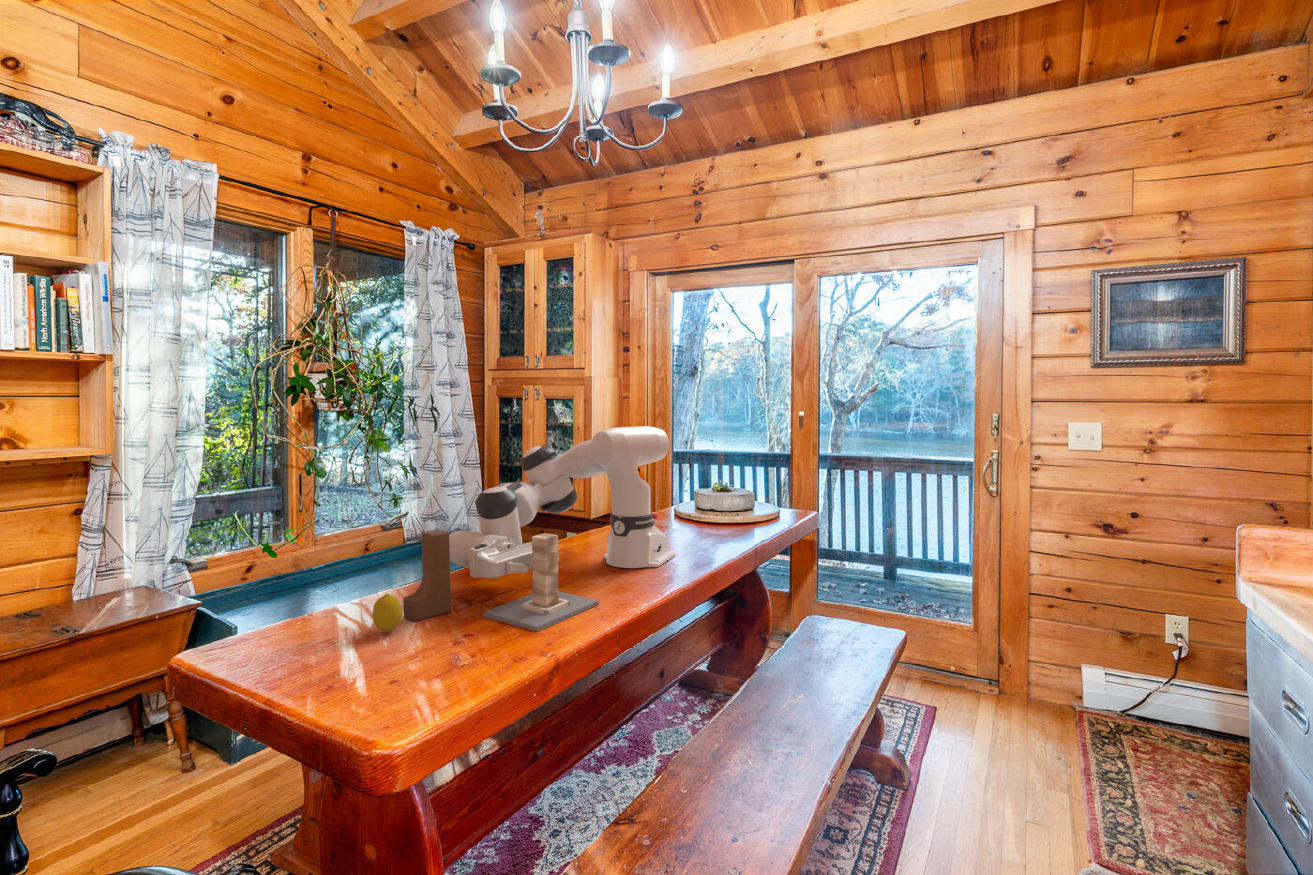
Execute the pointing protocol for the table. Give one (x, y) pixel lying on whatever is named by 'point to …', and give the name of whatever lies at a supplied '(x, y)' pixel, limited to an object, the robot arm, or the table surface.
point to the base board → (540, 611)
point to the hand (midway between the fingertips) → (542, 563)
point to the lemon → (387, 612)
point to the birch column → (545, 570)
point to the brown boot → (431, 579)
